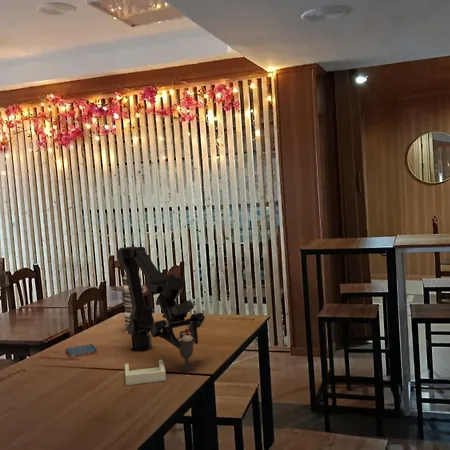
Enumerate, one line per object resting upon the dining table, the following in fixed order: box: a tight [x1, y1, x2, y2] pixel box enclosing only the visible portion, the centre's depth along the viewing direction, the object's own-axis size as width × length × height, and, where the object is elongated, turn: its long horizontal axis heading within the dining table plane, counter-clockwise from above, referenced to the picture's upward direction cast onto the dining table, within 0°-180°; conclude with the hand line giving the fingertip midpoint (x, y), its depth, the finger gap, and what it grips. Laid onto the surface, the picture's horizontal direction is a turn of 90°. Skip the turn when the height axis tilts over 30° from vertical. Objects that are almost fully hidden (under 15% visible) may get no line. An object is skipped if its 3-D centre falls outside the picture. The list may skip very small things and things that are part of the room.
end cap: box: [124, 359, 167, 386], centre depth 184 cm, size 12×12×3 cm
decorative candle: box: [121, 273, 145, 335], centre depth 243 cm, size 9×9×25 cm
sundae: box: [176, 325, 196, 372], centre depth 189 cm, size 7×7×15 cm
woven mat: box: [64, 343, 98, 359], centre depth 216 cm, size 10×11×2 cm
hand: (188, 345), depth 188 cm, fingers closed on sundae, 7 cm apart
